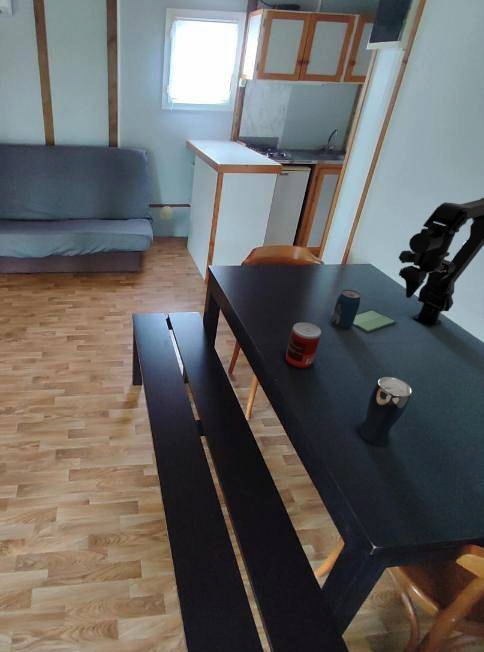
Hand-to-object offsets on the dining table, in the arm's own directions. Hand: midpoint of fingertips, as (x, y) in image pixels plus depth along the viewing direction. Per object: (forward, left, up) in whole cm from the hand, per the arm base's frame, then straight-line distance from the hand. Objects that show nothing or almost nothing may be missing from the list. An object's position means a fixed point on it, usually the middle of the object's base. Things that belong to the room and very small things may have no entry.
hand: (417, 294), depth 130 cm
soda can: (+17, -11, -13) cm, 24 cm away
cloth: (+5, -8, -13) cm, 16 cm away
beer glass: (+51, +28, -13) cm, 60 cm away
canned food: (+45, -2, -13) cm, 47 cm away
